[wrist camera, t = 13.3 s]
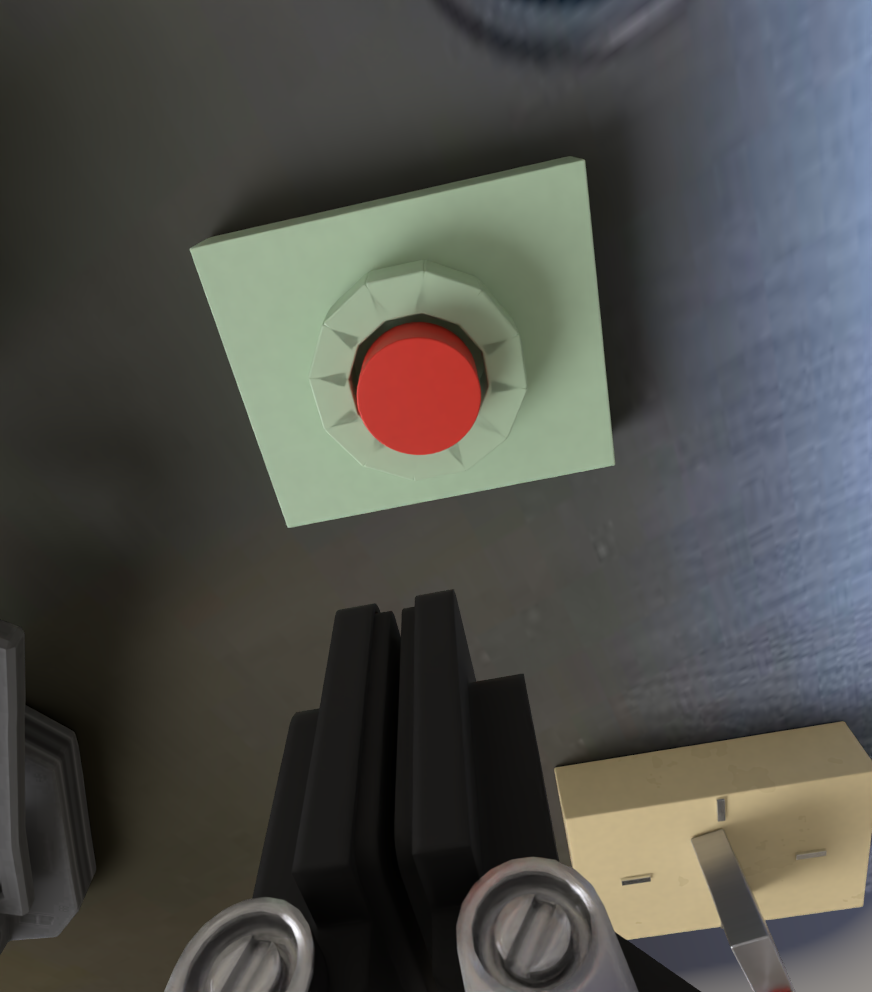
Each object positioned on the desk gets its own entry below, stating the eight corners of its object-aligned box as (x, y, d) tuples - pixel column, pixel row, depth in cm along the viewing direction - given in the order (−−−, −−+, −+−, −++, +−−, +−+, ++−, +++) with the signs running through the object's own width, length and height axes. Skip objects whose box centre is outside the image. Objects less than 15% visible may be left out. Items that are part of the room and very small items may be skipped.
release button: (465, 310, 21) (469, 325, 20) (486, 421, 23) (490, 442, 21) (347, 334, 22) (341, 351, 20) (376, 442, 23) (373, 466, 22)
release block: (571, 155, 23) (599, 162, 19) (601, 440, 27) (628, 489, 24) (207, 237, 24) (170, 258, 20) (296, 500, 28) (278, 555, 25)
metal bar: (689, 838, 33) (733, 954, 29) (722, 827, 33) (772, 942, 28) (721, 902, 36) (766, 1019, 31) (753, 893, 35) (803, 1009, 31)
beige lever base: (844, 720, 34) (881, 773, 32) (833, 853, 39) (865, 910, 36) (553, 767, 35) (565, 822, 33) (576, 891, 40) (588, 949, 37)
